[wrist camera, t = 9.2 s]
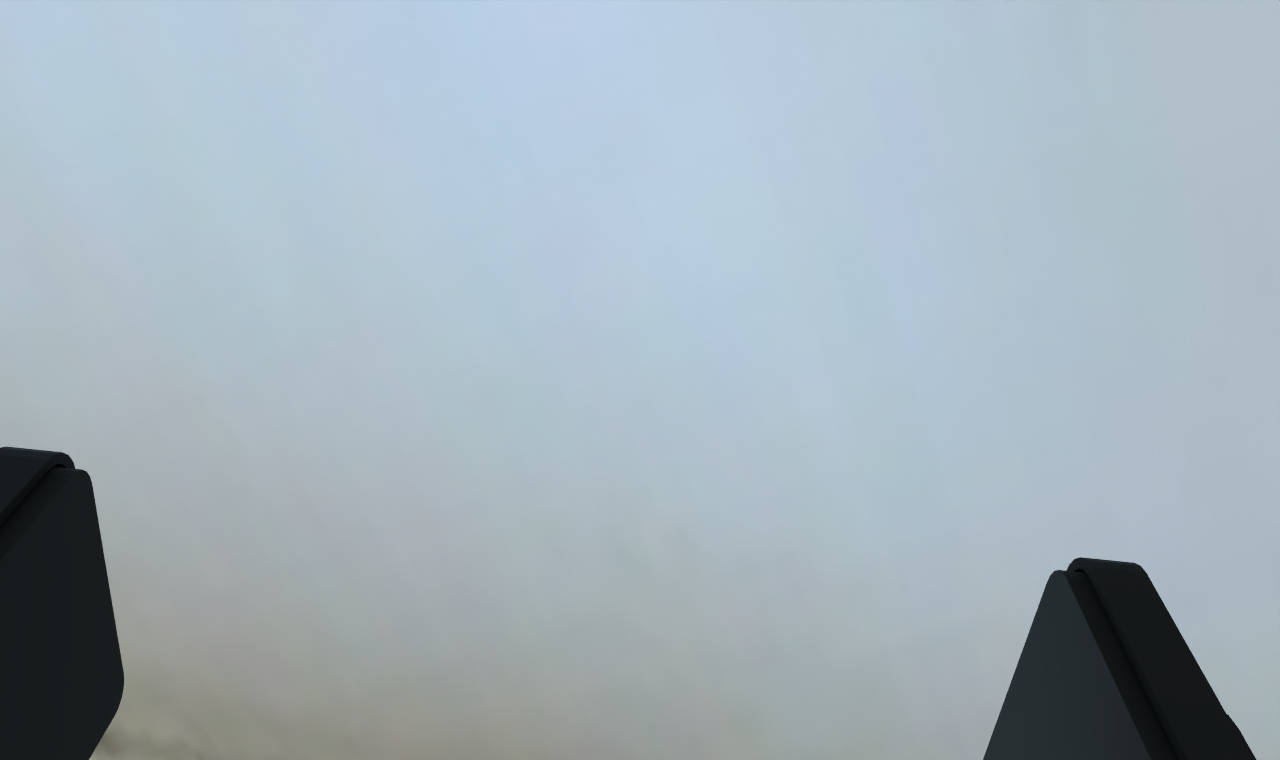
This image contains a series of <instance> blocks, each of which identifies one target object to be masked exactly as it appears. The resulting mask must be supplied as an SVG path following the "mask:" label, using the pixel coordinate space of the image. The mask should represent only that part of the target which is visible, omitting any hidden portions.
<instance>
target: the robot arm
mask: <svg viewBox="0 0 1280 760" xmlns="http://www.w3.org/2000/svg"><path fill="white" fill-rule="evenodd" d="M123 687H124V672H123V666H122V660H121V654H120V648H119V643H118V637H117V631H116V625H115V619H114V613H113V607H112V601H111V595H110V589H109V583H108V577H107V571H106V565H105V559H104V553H103V547H102V541H101V535H100V529H99V523H98V517H97V511H96V505H95V499H94V493H93V487H92V482H91V479H90V476H89V475H88V473H87V472H86V471H84V470H80V469H75V466H74V463H73V461H72V460H71V458H70V457H69V455H67V454H65V453H62V452H53V451H43V450H34V449H24V448H14V447H2V448H0V760H89V758H90V757H91V755H92V753H93V752H94V750H95V748H96V747H97V745H98V743H99V741H100V740H101V738H102V736H103V735H104V733H105V731H106V729H107V728H108V726H109V724H110V723H111V721H112V719H113V718H114V716H115V714H116V712H117V710H118V707H119V704H120V701H121V698H122V693H123ZM983 760H1256V758H1255V756H1254V755H1253V753H1252V751H1251V749H1250V748H1249V746H1248V744H1247V742H1246V741H1245V739H1244V737H1243V735H1242V734H1241V732H1240V730H1239V729H1238V727H1237V726H1236V725H1235V723H1234V722H1233V721H1232V719H1231V718H1230V717H1229V715H1227V714H1226V713H1225V711H1224V709H1223V707H1222V706H1221V704H1220V702H1219V700H1218V699H1217V697H1216V695H1215V693H1214V691H1213V690H1212V688H1211V686H1210V684H1209V683H1208V681H1207V679H1206V677H1205V676H1204V674H1203V672H1202V670H1201V669H1200V667H1199V665H1198V663H1197V662H1196V660H1195V658H1194V656H1193V654H1192V653H1191V651H1190V649H1189V647H1188V646H1187V644H1186V642H1185V640H1184V639H1183V637H1182V635H1181V633H1180V632H1179V630H1178V628H1177V626H1176V624H1175V623H1174V621H1173V619H1172V617H1171V616H1170V614H1169V612H1168V610H1167V609H1166V607H1165V605H1164V603H1163V602H1162V600H1161V598H1160V596H1159V594H1158V593H1157V591H1156V589H1155V587H1154V586H1153V584H1152V582H1151V580H1150V579H1149V577H1148V575H1147V573H1146V572H1145V571H1144V569H1143V568H1142V567H1141V566H1140V565H1138V564H1135V563H1129V562H1120V561H1110V560H1100V559H1091V558H1077V559H1074V560H1073V562H1072V563H1071V564H1070V565H1069V567H1068V569H1067V571H1062V570H1057V571H1054V572H1053V573H1052V574H1051V575H1050V577H1049V580H1048V582H1047V584H1046V587H1045V590H1044V593H1043V595H1042V598H1041V601H1040V604H1039V606H1038V609H1037V612H1036V615H1035V617H1034V620H1033V623H1032V626H1031V628H1030V631H1029V634H1028V637H1027V640H1026V642H1025V645H1024V648H1023V651H1022V653H1021V656H1020V659H1019V662H1018V664H1017V667H1016V670H1015V673H1014V676H1013V678H1012V681H1011V684H1010V687H1009V689H1008V692H1007V695H1006V698H1005V700H1004V703H1003V706H1002V709H1001V712H1000V714H999V717H998V720H997V723H996V725H995V728H994V731H993V734H992V736H991V739H990V742H989V745H988V747H987V750H986V753H985V756H984V759H983Z"/></svg>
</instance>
